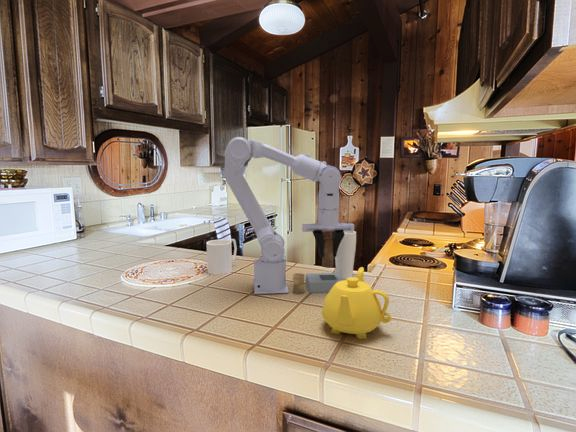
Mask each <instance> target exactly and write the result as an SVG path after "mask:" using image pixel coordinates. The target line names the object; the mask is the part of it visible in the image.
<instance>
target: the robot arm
mask: <svg viewBox="0 0 576 432" xmlns="http://www.w3.org/2000/svg"><path fill="white" fill-rule="evenodd" d="M252 158H253V159H259V158H260V159H263V158H266V159H268V160H271V161H274V162H277V163H278V164H279V163H280V164H282V165H285V166H288V167H289V168H290V167H291V170H292V172H293V174H294V175H297V176H298V177H299V176H300V177H302V178H304V179H307V180H310V181H312V182H315V183H316V182H318V183H319V185H318V188H319V190H318V195H317V196H318V206H317V209H318V211H317V213H318V214H317V222H316V223H314V222H313V223H302V224H301V225H302V226H301V228H302V229H301V231H302V233H307V232H312V235H313V236H314V239H315V242H316V245H317V247H318V255H319V257H320V258H322V257H323V238H325V236H324V234H323V232H331V233H332V238H333V239H334V256H333V258H335V257H336V255H337V251H338V247H339V245H340V242H341V240H342V239H343V237H344V231H355V224H354V223H349V222H348V223H345V222H339V213H340V211H339V210H340V207H339V206H340V192H339V191H340V186H339V184H340V183H341V181H342V175H341V172H340V170H339V169H338V168H337V167H335V166H334V165H331V164H327V162H326V161H324V160H323V161H320V160H317V159H315V158H313V157H311V155H310V154H308V153H306V154H303V153H300V154H298V155H297V156H294V155H292V154H289V153H288V152H285V151H283V150H280V149H278V148H275V147H274V146H272V145H269V144H267V143H264V142H261V141H257V140H253V139H249V140H248V139H246V138H245V137H242V136H236V137H233V138H231V140H229V142H228V144H227V146H226V148H225V150H224V173H223V175H224V179H225V181H226V183H227V185H228V187H229V188H230V189H231V192H232V194H233V195H234V197H235V199H236V201H237V203H238V204H239V206H240V207H241V209H242V211H243V213H244V215H245V217H246V219H247V220H248V221H249V223H250V226H251V227H252V229H253V230H254V233H255V235H256V238H257V242H258V243H259V245H260V249H261V250H260V252H261V256H260V258H258V259H253V279H252V285H253V289H254V290H253V291H254V293H253V294H255V295H261V294H262V295H266V294H268V295H269V294H288V293H289V288H288V284H287V267H286V266H287V258H286V256H285V255H284V254H285V239H284V238H283V236H282V235H280V234H279V233H278V232H277V231H276V230H275V228H274V227H273V226H272V225H271V223H270V221H269V220H268V217H267V215H266V214H265V213H264V210H263V208H262V206H261V205H260V203H259V201H258V199H257V197H256V196H255V195H254V193H253V191H252V189H251V187H250V185H249V183H248V182H247V180H246V178H245V176H244V175H245V171H246V168H247V165H248V164H249V162H250V161H251V159H252Z"/></svg>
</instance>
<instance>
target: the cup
mask: <svg viewBox="0 0 576 432" xmlns="http://www.w3.org/2000/svg"><path fill="white" fill-rule="evenodd" d="M232 243H233V247H234V250H232ZM237 247H238V246H237V241H236V239H235V238H231V239H213V240H212V239H211V240H208V241H206V263H207V264H206V267H207V269H206V270H207V274H210V275H213V276H223V275H228V274H229V273H232V272H233V261H235V259H236V257H237V251H238V250H237V249H238V248H237ZM232 251H233V253H232ZM232 254H233V255H232Z"/></svg>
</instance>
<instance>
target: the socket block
mask: <svg viewBox="0 0 576 432" xmlns="http://www.w3.org/2000/svg"><path fill="white" fill-rule="evenodd" d="M339 281H343V279H342V277H341V276H340V275H339V273H336V272H319V273H318V272H317V273H305V285H306V287H307V290H308V292H309V294H314V293H315V294H317V293H329V291H330V290H331V289H332V287H333V286H334V285H335V284H336V283H337V282H339Z"/></svg>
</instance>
